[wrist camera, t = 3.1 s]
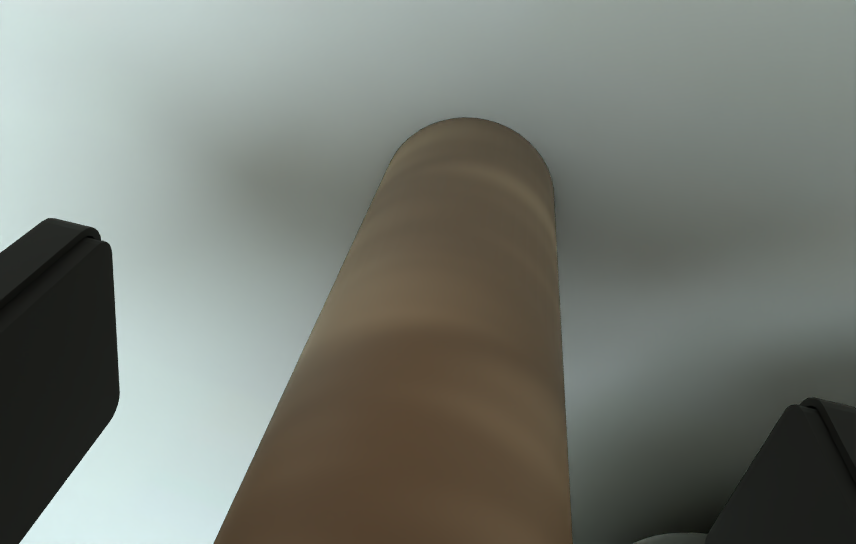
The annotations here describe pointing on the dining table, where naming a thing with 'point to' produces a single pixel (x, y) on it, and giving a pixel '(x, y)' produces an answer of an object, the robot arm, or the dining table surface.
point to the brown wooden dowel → (428, 366)
